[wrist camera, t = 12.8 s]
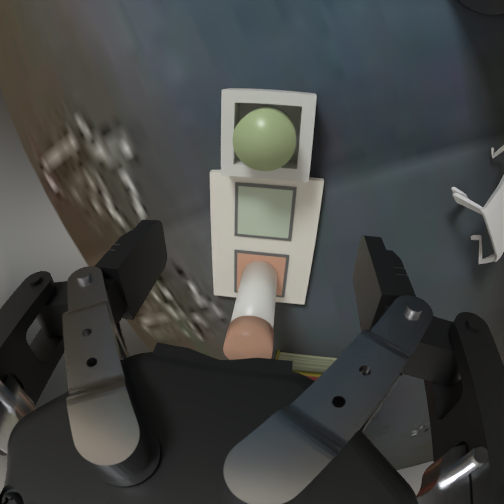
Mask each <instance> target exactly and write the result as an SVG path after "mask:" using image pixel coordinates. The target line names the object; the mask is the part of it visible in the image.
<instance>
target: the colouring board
mask: <svg viewBox="0 0 504 504" xmlns="http://www.w3.org/2000/svg"><path fill="white" fill-rule="evenodd" d="M323 185H324V180H323V178H314V177H309V182H298V181H288V180H277V179H265V178H252V177H238V176H221V170H211V171H210V205H211V238H212V264H213V285H214V295H219V296H227V297H236V298H237V293H238V289H239V285H240V281H241V277H242V272H243V269H244V267H245V266H246V265H247V264H249V263H251V262H253V261H264V262H267V263H269V264H271V265H272V266H273V267H274V268H275V269H276V271H277V275H278V277H277V290H276V302H282V303H293V304H303V305H304V304H305V298H306V293H307V287H308V282H309V276H310V271H311V265H312V259H313V253H314V247H315V240H316V234H317V227H318V221H319V214H320V207H321V200H322V193H323Z"/></svg>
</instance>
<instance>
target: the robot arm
mask: <svg viewBox="0 0 504 504" xmlns="http://www.w3.org/2000/svg"><path fill="white" fill-rule="evenodd" d="M458 1H460V2H461V3H462V4H463V5H465V6H467V7H468V8H470V9H471V10H474V11H476V12H478V13H481V14H485V15H497V14H504V0H458ZM166 261H167V251H166V245H165V239H164V232H163V226H162V223H161V221H158V220H142V221H141V222H140V223H139V224H138V225H137V226H136V227H135V228H134V229H133V231H130V232H128V233H126V234H124V235H123V236H121V237H120V238H119V240H118V241H117V242H116V243H115V245H113V246H112V247H111V248H110V250H109V251H108V252H107V253H106V254H105V255H104V256H103V257H102V258H101V260H100V261H99V262H98V263H97V264H96V265H95V266H89V267H84V268H81V269H79V270H77V271H75V272H74V273H72V274H71V276H70V277H69V278H68V281H65V282H55V283H54V282H53V279H52V277H51V274H50V273H49V272H46V271H40V272H37V273H34V274H32V275H30V276H29V277H28V278H26V279H25V280H24V281H23V282H22V284H21V285H20V286H19V287H18V288H17V290H16V291H15V292H14V293H13V294H12V295H11V297H10V298H9V299H8V300H7V301H6V303H5V304H4V305H3V306H2V308H1V309H0V455H7V473H6V479H5V485H4V488H3V490H2V492H1V494H0V504H504V365H503V363H502V360H501V357H500V355H499V352H498V349H497V347H496V344H495V342H494V339H493V337H492V334H491V332H490V330H489V327H488V325H487V324H486V322H485V321H484V320H483V319H482V318H480V317H479V316H477V315H476V314H473V313H470V312H463V313H460V314H458V315H457V316H456V318H455V320H454V322H451V321H447V320H444V319H440V318H437V317H435V316H433V312H432V309H431V307H430V306H429V305H428V304H427V303H426V302H425V301H424V300H422V299H420V298H418V297H416V295H415V293H414V290H413V288H412V285H411V283H410V280H409V278H408V276H407V273H406V270H405V269H404V266H403V263H402V261H401V259H400V258H399V257H398V256H397V255H396V254H395V253H394V252H393V251H389V250H386V248H385V246H384V243H383V241H382V238H381V237H373V236H362V237H361V240H360V244H359V249H358V254H357V259H356V263H355V268H354V275H353V284H354V290H355V295H356V301H357V307H358V313H359V319H360V325H361V333H360V334H359V335H358V336H357V338H356V339H355V340H354V341H353V342H352V343H351V344H350V345H349V346H348V347H347V349H346V350H345V351H344V352H343V353H342V354H341V355H340V356H339V357H338V358H337V359H336V360H335V361H334V362H333V363H332V364H331V365H330V366H329V368H328V369H327V370H326V371H325V372H324V373H323V374H322V375H321V376H320V377H319V378H318V379H317V380H316V381H314V380H312V379H310V378H309V377H307V376H305V375H302V374H300V373H297V372H294V371H292V366H293V361H289V360H278V359H267V358H247V359H235V360H218V359H215V358H212V357H210V356H207V355H204V354H202V353H199V352H197V351H194V350H192V349H189V348H184V347H178V346H173V345H167V344H162V343H157V345H156V347H155V349H154V351H153V352H149V353H141V354H137V355H134V356H129V353H128V349H127V346H126V343H125V339H124V336H123V333H122V329H121V326H120V323H119V321H120V320H121V318H125V319H130V320H133V319H134V318H135V316H136V314H137V313H138V311H139V309H140V307H141V306H142V304H143V302H144V301H145V299H146V297H147V296H148V294H149V292H150V291H151V289H152V287H153V286H154V284H155V282H156V281H157V279H158V277H159V276H160V274H161V273H162V271H163V269H164V268H165V265H166ZM35 318H36V319H37V321H38V323H39V325H40V326H41V329H40V331H39V332H38V334H37V335H36V337H35V338H34V340H33V341H32V343H31V344H30V346H29V345H28V343H27V341H26V332H27V329H28V328H29V327H30V325H31V324H32V323H33V321H34V320H35ZM64 351H65V361H66V369H67V378H68V386H69V391H67V392H66V393H64V394H62V395H60V396H59V397H57V398H55V399H53V400H52V401H50V402H48V403H46V404H44V405H43V406H41V407H39V408H37V409H35V405H36V403H37V401H38V399H39V397H40V395H41V393H42V391H43V389H44V388H45V386H46V384H47V382H48V380H49V378H50V376H51V375H52V372H53V371H54V369H55V367H56V365H57V364H58V362H59V360H60V358H61V356H62V355H63V353H64ZM403 374H406V375H410V376H413V377H417V378H420V379H424V383H425V389H426V396H427V403H428V410H429V417H430V426H431V435H432V445H433V458H434V463H433V464H431V465H430V466H429V467H428V468H427V469H426V471H425V472H424V474H423V477H422V483H421V488H420V491H419V493H418V494H417V496H416V495H415V493H414V491H413V490H412V488H411V486H410V485H409V484H408V483H407V482H406V481H405V479H404V478H403V477H402V476H401V475H400V474H399V473H398V472H397V471H396V470H395V468H394V467H393V466H392V465H391V464H390V463H389V462H388V461H387V460H386V458H385V457H384V456H383V455H382V454H381V453H380V452H379V451H378V449H377V448H376V447H375V446H374V445H373V444H372V443H371V441H370V440H369V439H368V438H367V437H366V436H365V435H364V434H363V430H364V429H365V428H366V427H367V425H368V424H369V423H370V421H371V420H372V418H373V417H374V416H375V414H376V413H377V411H378V410H379V409H380V407H381V406H382V404H383V403H384V401H385V400H386V399H387V397H388V396H389V394H390V393H391V391H392V390H393V388H394V387H395V385H396V384H397V382H398V381H399V379H400V378H401V376H402V375H403Z"/></svg>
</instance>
